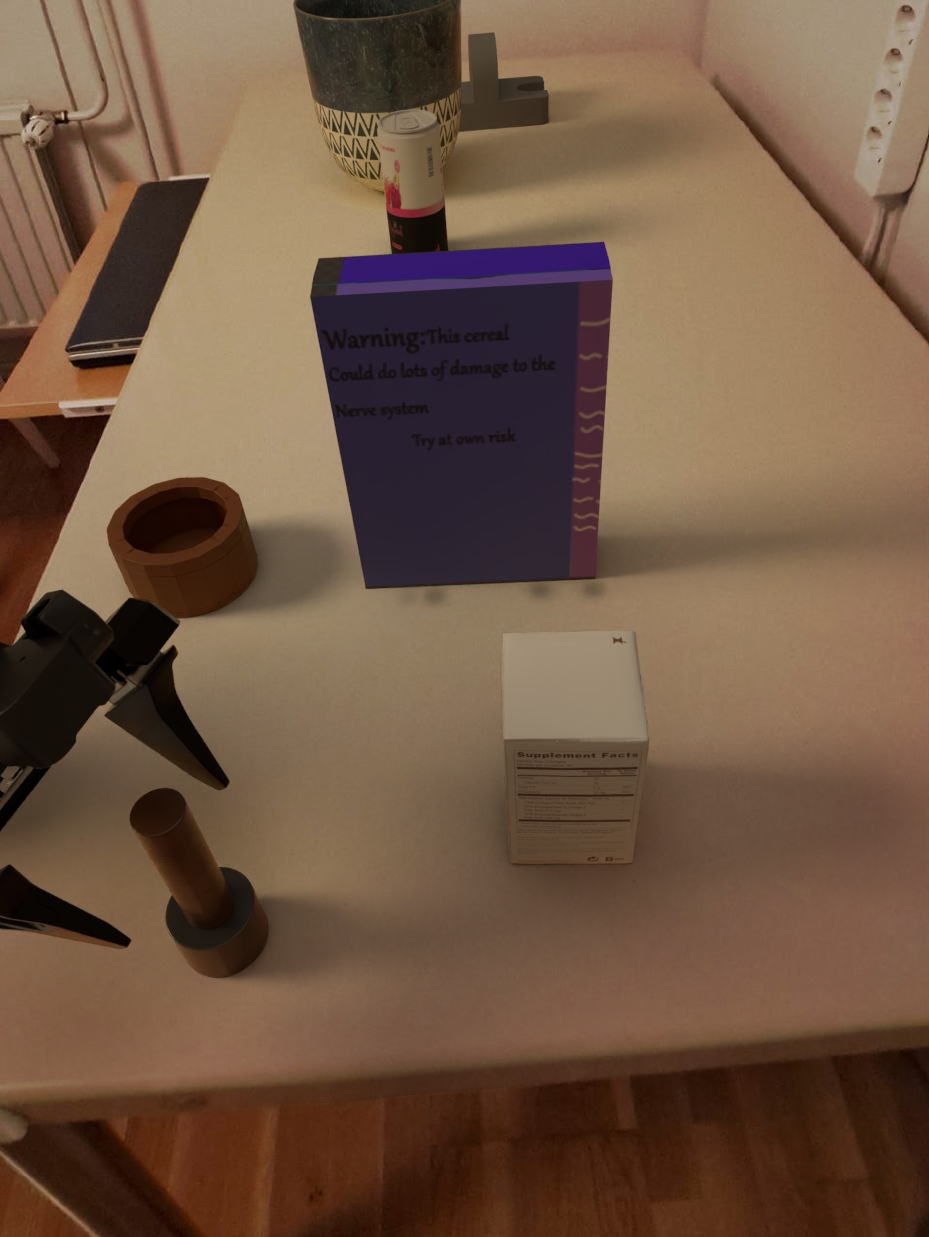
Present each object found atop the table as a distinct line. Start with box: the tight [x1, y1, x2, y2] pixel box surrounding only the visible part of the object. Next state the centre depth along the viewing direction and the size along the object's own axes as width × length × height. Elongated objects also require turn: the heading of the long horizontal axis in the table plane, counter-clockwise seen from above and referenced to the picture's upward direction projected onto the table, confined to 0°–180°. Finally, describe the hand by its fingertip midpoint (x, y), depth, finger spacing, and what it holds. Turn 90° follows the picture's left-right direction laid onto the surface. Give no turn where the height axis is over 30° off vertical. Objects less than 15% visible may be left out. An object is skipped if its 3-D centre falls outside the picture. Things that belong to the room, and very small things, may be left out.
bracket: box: [459, 31, 550, 132], centre depth 135 cm, size 10×18×11 cm, turn 93°
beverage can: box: [377, 109, 449, 254], centre depth 103 cm, size 7×6×15 cm
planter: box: [292, 0, 463, 192], centre depth 116 cm, size 20×20×21 cm
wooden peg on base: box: [129, 787, 269, 978], centre depth 48 cm, size 5×5×13 cm
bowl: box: [106, 476, 259, 619], centre depth 72 cm, size 10×10×6 cm
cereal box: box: [309, 241, 614, 589], centre depth 64 cm, size 17×5×24 cm, turn 90°
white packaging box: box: [500, 630, 650, 865], centre depth 52 cm, size 7×7×13 cm
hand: (179, 861), depth 47 cm, fingers open, 9 cm apart
